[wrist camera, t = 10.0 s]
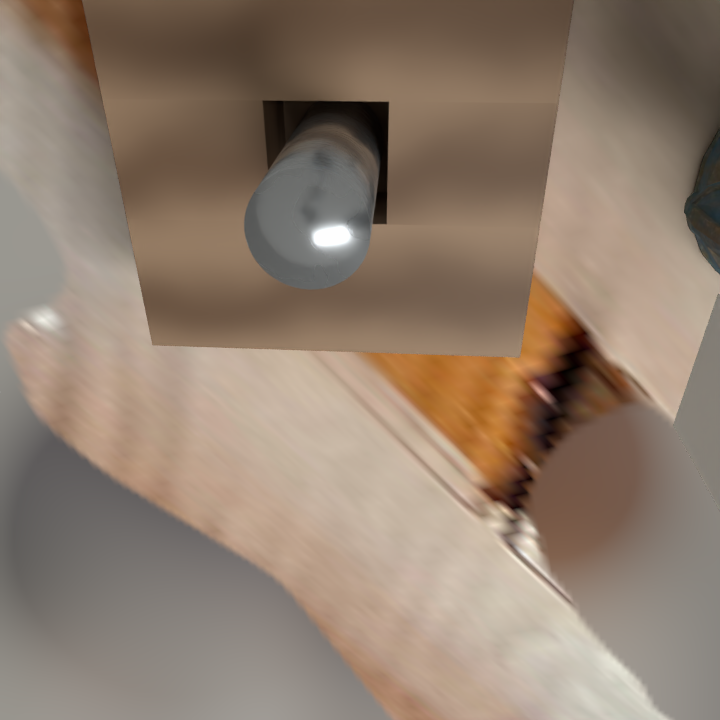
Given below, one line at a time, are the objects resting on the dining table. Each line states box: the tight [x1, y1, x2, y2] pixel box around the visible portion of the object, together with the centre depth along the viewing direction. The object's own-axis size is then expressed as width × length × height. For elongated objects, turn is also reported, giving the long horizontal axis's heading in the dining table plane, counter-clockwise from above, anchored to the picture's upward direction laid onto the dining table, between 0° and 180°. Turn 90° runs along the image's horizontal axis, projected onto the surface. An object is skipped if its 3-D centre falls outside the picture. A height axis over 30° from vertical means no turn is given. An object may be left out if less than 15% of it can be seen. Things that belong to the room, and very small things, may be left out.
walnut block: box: [82, 0, 574, 357], centre depth 29 cm, size 18×18×6 cm
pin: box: [244, 101, 383, 290], centre depth 25 cm, size 4×4×12 cm
